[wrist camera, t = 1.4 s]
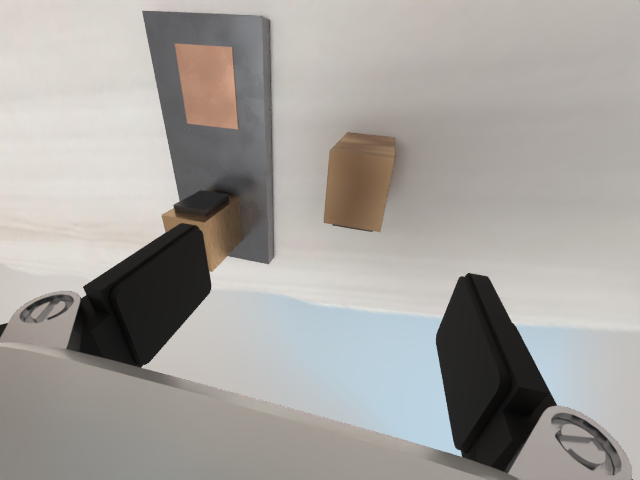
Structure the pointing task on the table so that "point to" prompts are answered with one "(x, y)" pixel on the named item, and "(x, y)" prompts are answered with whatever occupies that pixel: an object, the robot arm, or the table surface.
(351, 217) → the brown rectangular block
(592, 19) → the table surface
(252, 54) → the gray base with block
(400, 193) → the table surface
